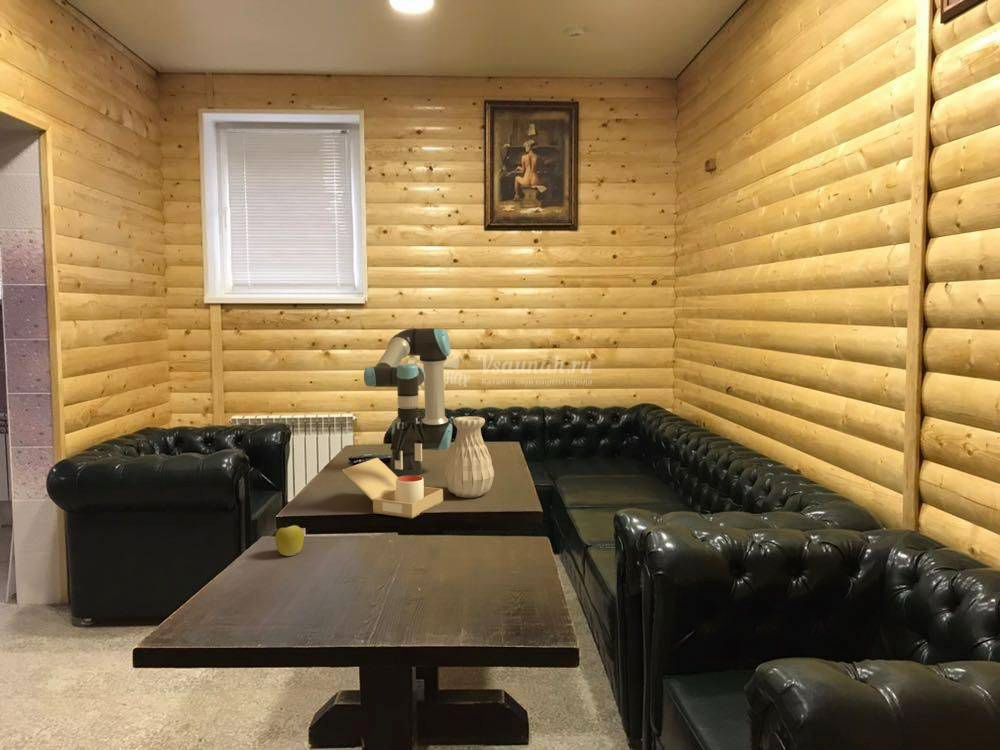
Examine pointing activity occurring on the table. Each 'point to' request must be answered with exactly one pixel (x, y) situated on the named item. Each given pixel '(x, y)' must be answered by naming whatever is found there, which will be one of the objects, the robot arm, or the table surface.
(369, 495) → the lid
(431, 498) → the box
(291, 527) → the apple
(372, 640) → the table surface
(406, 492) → the cup
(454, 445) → the vase
